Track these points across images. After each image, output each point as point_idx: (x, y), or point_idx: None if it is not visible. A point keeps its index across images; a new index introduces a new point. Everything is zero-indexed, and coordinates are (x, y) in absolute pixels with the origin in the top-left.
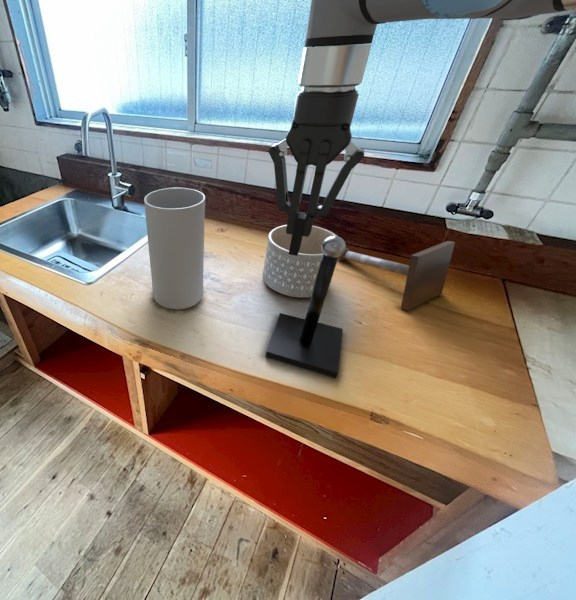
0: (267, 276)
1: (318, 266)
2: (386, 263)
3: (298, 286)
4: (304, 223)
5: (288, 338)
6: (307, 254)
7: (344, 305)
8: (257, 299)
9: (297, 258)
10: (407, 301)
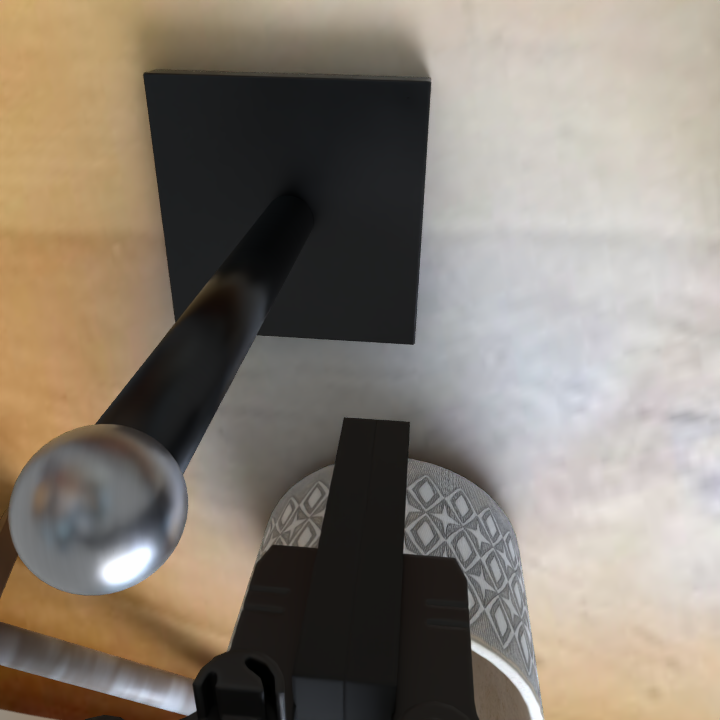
0: (498, 528)
1: None
2: (92, 674)
3: None
4: (301, 639)
5: (354, 201)
6: None
7: (201, 468)
8: (516, 414)
9: None
10: None
